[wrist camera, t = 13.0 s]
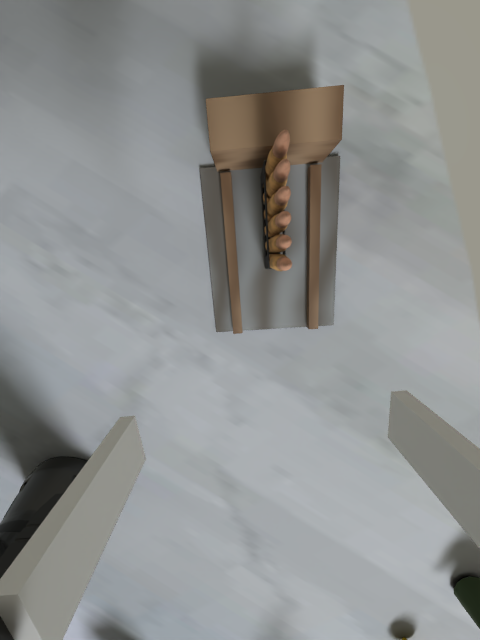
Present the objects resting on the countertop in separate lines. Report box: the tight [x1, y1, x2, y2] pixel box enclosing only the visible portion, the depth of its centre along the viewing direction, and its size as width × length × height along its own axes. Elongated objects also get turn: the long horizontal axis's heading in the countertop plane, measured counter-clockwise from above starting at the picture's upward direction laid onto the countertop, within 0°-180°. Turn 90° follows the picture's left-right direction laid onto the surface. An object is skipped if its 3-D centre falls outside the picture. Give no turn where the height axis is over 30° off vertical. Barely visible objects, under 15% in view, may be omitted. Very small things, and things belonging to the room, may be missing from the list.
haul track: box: [200, 85, 344, 334], centre depth 26 cm, size 16×24×6 cm
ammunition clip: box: [260, 130, 292, 271], centre depth 23 cm, size 11×2×12 cm, turn 5°
